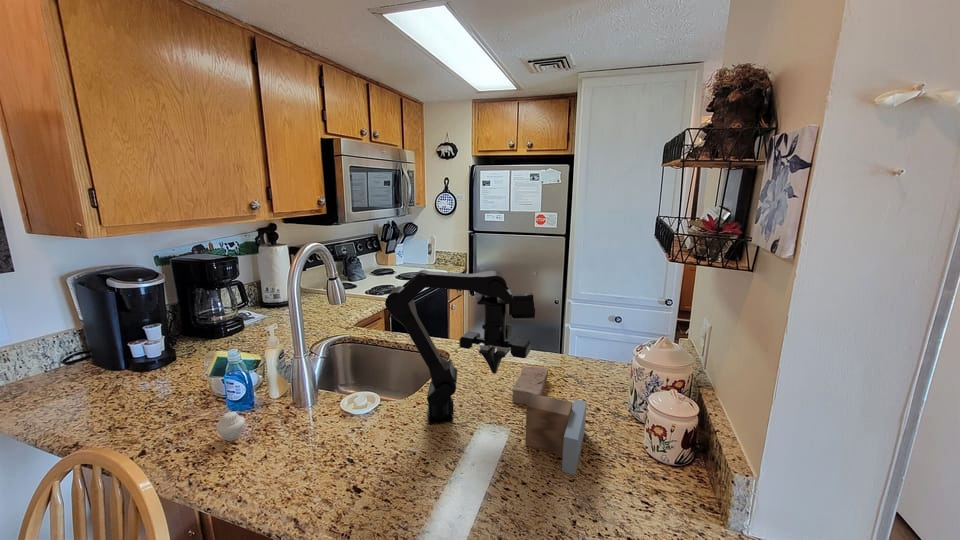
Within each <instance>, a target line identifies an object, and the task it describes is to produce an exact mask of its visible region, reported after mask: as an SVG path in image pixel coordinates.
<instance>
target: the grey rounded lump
mask: <svg viewBox="0 0 960 540" xmlns="http://www.w3.org/2000/svg"><path fill="white" fill-rule="evenodd" d="M245 425H246V419H245V417H243V416H241V415H239V414H238V413H237V412H236V411H229V412H227V413H225V414H224V415H222V417H221V419H220V422H219V423H218V424H217V426H216V433H218V435H219V436H220V437H222V438H223V439H224V440H225V441H226V442H231V441H235V440H237V439H239V438H240V437H241V434H242V433H243V431H244V428H245Z"/></svg>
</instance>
